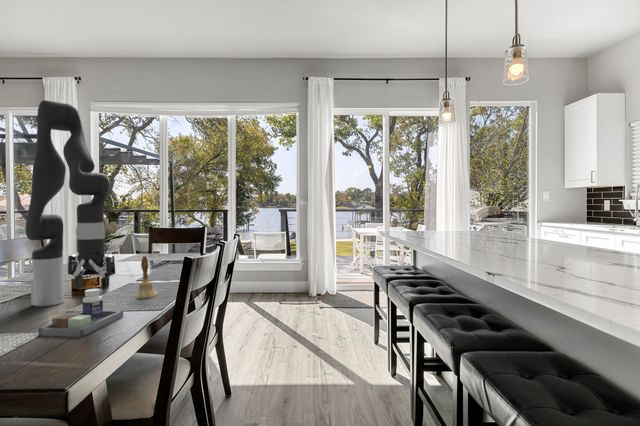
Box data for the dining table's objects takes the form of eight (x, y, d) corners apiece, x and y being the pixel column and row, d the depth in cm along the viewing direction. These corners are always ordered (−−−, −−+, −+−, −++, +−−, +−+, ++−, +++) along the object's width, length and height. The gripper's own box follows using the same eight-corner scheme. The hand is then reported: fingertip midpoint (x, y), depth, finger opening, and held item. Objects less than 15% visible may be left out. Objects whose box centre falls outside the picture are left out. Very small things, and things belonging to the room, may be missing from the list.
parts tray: (38, 337, 104) (38, 328, 104) (86, 317, 122) (86, 309, 122) (80, 339, 103) (80, 330, 103) (123, 318, 121) (122, 310, 121)
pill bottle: (93, 324, 113) (92, 292, 113) (78, 323, 114) (77, 291, 114) (107, 318, 119) (106, 288, 118) (92, 317, 120) (91, 287, 119)
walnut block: (52, 332, 107) (51, 318, 106) (63, 327, 111) (63, 314, 110) (65, 332, 106) (64, 318, 106) (75, 328, 110) (75, 314, 110)
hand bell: (142, 299, 144) (141, 258, 143) (130, 296, 148) (129, 256, 148) (161, 294, 151) (160, 255, 150) (149, 292, 155) (148, 254, 155)
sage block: (68, 332, 106) (67, 319, 106) (79, 328, 110) (78, 314, 110) (81, 333, 105) (80, 319, 105) (91, 328, 109) (91, 315, 109)
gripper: (60, 237, 113) (61, 290, 113) (103, 238, 111) (104, 292, 112) (79, 235, 120) (80, 285, 121) (120, 236, 118) (121, 286, 119)
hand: (92, 288), depth 116 cm, fingers open, 8 cm apart
